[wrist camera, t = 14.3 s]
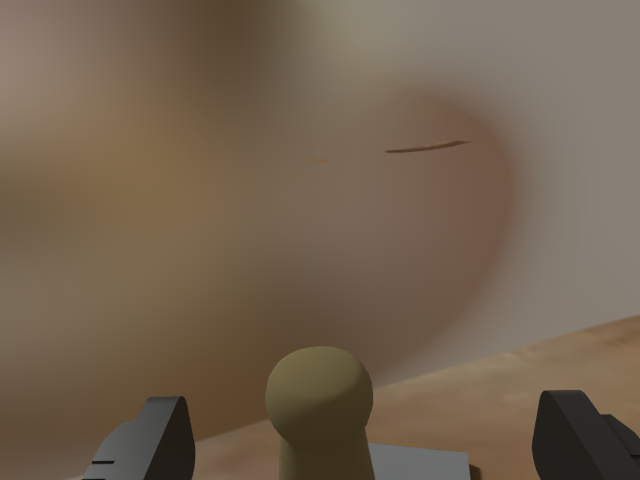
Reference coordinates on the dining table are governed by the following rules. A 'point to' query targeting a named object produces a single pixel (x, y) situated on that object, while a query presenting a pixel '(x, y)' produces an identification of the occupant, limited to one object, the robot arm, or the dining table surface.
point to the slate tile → (417, 463)
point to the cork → (321, 415)
